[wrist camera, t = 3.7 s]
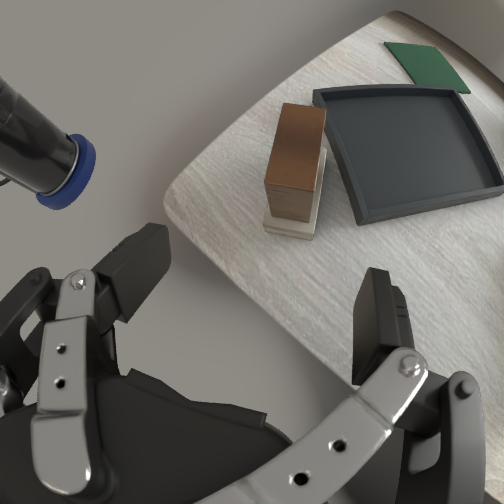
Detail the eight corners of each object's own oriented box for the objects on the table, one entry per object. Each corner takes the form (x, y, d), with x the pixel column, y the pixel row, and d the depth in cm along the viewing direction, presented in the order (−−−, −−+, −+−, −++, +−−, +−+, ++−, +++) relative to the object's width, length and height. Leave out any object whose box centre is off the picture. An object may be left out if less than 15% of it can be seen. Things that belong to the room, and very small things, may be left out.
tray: (357, 226, 22) (363, 218, 20) (312, 102, 26) (312, 89, 24) (499, 196, 21) (509, 189, 19) (448, 96, 24) (453, 86, 22)
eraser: (311, 240, 23) (321, 205, 15) (265, 231, 23) (252, 193, 16) (325, 158, 24) (334, 102, 16) (283, 151, 25) (277, 94, 17)
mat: (419, 90, 25) (420, 88, 24) (383, 43, 27) (384, 41, 26) (470, 93, 24) (471, 92, 23) (434, 48, 26) (435, 47, 25)
